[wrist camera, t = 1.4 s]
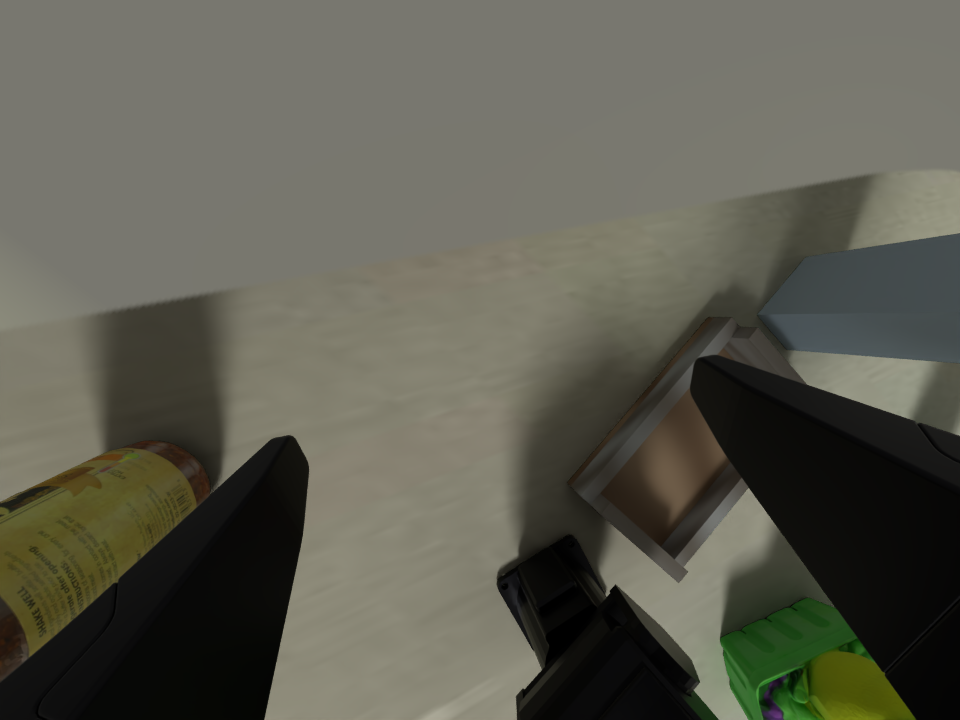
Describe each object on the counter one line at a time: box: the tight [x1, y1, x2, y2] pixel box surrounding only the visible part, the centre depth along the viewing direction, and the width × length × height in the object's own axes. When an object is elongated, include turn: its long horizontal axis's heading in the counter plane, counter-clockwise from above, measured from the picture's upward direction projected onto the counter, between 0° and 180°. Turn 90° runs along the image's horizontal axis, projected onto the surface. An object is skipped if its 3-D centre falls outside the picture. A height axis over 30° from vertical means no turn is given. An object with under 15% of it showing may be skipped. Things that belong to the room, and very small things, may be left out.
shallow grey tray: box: [567, 317, 807, 583], centre depth 29 cm, size 16×10×4 cm, turn 137°
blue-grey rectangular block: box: [757, 233, 960, 363], centre depth 25 cm, size 6×4×12 cm, turn 137°
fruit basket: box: [720, 598, 916, 720], centre depth 29 cm, size 11×9×11 cm
